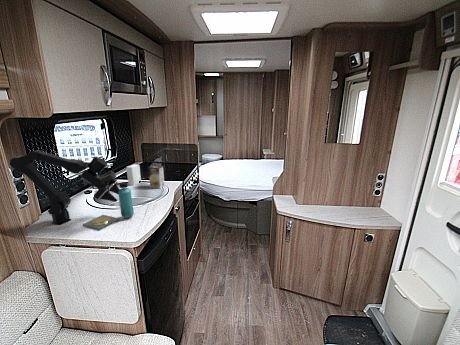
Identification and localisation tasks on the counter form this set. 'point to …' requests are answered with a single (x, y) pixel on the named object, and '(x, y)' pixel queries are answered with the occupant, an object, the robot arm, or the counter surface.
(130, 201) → the beverage bottle
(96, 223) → the coupling plate
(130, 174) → the skincare box
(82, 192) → the counter surface
